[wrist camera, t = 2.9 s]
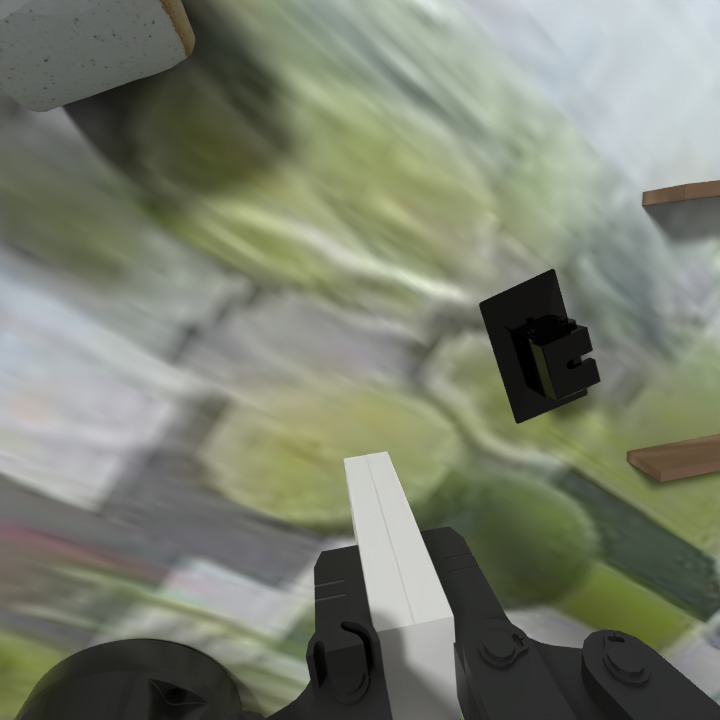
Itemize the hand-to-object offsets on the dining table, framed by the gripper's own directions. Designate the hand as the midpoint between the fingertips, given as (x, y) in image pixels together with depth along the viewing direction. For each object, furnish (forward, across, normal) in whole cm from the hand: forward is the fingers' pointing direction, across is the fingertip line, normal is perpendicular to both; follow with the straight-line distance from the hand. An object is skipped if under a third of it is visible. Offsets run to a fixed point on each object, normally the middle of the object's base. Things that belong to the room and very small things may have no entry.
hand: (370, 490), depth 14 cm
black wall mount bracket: (+14, -13, 0) cm, 19 cm away
